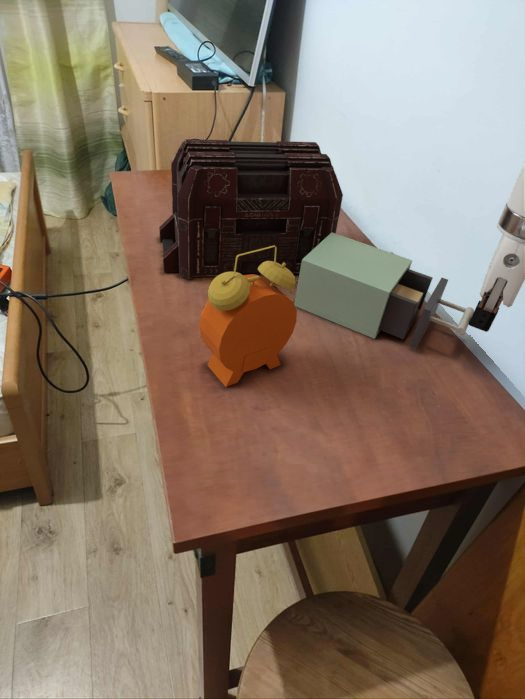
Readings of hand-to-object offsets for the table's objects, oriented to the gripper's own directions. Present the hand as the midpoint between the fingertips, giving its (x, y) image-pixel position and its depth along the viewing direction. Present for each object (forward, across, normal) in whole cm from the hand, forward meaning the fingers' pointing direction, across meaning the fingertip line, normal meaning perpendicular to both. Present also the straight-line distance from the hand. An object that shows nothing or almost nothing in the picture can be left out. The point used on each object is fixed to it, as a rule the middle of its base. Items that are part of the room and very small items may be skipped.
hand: (478, 326), depth 83 cm
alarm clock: (+6, -25, +29) cm, 39 cm away
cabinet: (+6, 0, +22) cm, 23 cm away
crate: (+6, +4, +46) cm, 46 cm away
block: (+4, 0, +13) cm, 13 cm away
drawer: (+5, 0, +12) cm, 13 cm away
